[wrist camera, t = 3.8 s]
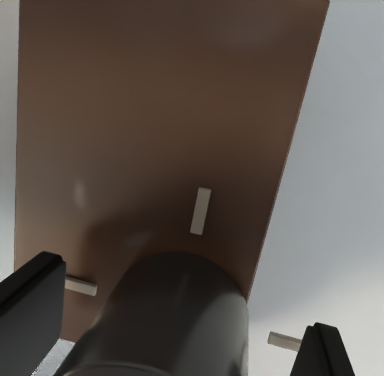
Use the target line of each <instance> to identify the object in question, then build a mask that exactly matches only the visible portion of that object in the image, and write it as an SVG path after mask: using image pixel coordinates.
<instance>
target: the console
mask: <svg viewBox="0 0 384 376" xmlns="http://www.w3.org/2000/svg"><path fill="white" fill-rule="evenodd" d="M329 3H330V1H329V0H20V2H19V49H18V97H17V144H16V192H15V239H14V272H15V271H16V270H18V269H19V268H20V267H22V266H23V265H24V264H26V263H27V262H28V261H30V260H31V259H32V258H33V257H35V256H36V255H37V254H39V253H40V252H42V251H47V252H51V253H54V254H58V255H61V256H62V259H63V261H65V262H66V278H65V291H64V305H63V318H62V330H61V334H60V337H59V338H61V339H64V340H68V341H71V342H75V343H76V342H77V341H78V339H79V338H80V336H81V335H82V334H83V332H84V331H85V329H86V328H87V326H88V325H89V324H90V322H91V321H92V319H93V318H94V317H95V315H96V314H97V312H98V311H99V309H100V308H101V307H102V305H103V304H104V302H105V301H106V299H107V298H108V297H109V295H110V294H111V292H112V291H113V289H114V288H115V287H116V285H117V284H118V282H119V281H120V279H121V278H122V277H123V275H124V274H125V273H126V272H127V270H128V269H129V268H131V267H132V266H133V265H134V264H135V263H137V262H138V261H140V260H142V259H144V258H146V257H148V256H152V255H155V254H159V253H165V252H182V253H188V254H193V255H196V256H199V257H202V258H204V259H206V260H208V261H210V262H212V263H214V264H215V265H217V266H218V267H220V268H221V269H222V270H224V271H225V272H226V273H227V274H228V275H229V276H230V277H231V278H232V279H233V280H234V282H235V283H236V284H237V285H238V287H239V289H240V290H241V292H242V294H243V296H244V298H245V301H246V304H247V302H248V299H249V295H250V291H251V288H252V284H253V281H254V277H255V273H256V270H257V266H258V262H259V259H260V255H261V251H262V248H263V244H264V240H265V237H266V233H267V230H268V226H269V222H270V219H271V215H272V211H273V208H274V204H275V200H276V197H277V193H278V189H279V186H280V182H281V178H282V175H283V171H284V168H285V164H286V160H287V157H288V153H289V149H290V146H291V142H292V138H293V135H294V131H295V127H296V124H297V120H298V117H299V113H300V109H301V106H302V102H303V98H304V95H305V91H306V87H307V84H308V80H309V76H310V73H311V69H312V65H313V62H314V58H315V55H316V51H317V47H318V44H319V40H320V36H321V33H322V29H323V25H324V22H325V18H326V14H327V11H328V7H329ZM301 342H302V340H300V339H297V338H293V337H289V336H286V335H282V334H278V333H274V332H270V334H269V337H268V344H271V345H275V346H279V347H282V348H286V349H289V350H293V351H297V352H298V351H299V348H300V345H301Z"/></svg>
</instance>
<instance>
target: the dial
mask: <svg viewBox="0 0 384 376" xmlns="http://www.w3.org/2000/svg"><path fill="white" fill-rule="evenodd" d="M248 338H249V315H248V308H247V304H246V301H245V298H244V296H243V294H242V292H241V290H240V289H239V287H238V285H237V284H236V283H235V282H234V280H233V279H232V278H231V277H230V276H229V275H228V274H227V273H226V272H225V271H224V270H222V269H221V268H220V267H218V266H217V265H215V264H214V263H212V262H210V261H208V260H206V259H204V258H202V257H199V256H196V255H193V254H188V253H182V252H165V253H159V254H155V255H152V256H148V257H146V258H144V259H142V260H140V261H138V262H137V263H135V264H134V265H133V266H132V267H131V268H129V269H128V270H127V272H126V273H125V274H124V275H123V277H122V278H121V279H120V281H119V282H118V284H117V285H116V287H115V288H114V289H113V291H112V292H111V294H110V295H109V297H108V298H107V299H106V301H105V302H104V304H103V305H102V307H101V308H100V309H99V311H98V312H97V314H96V315H95V317H94V318H93V319H92V321H91V322H90V324H89V325H88V326H87V328H86V329H85V331H84V332H83V334H82V335H81V336H80V338H79V339H78V341H77V342H76V344H75V345H74V346H73V348H72V349H71V351H70V352H69V354H68V355H67V356H66V358H65V359H64V361H63V362H62V363H61V365H60V366H59V368H58V369H57V371H56V372H55V373H54V375H53V376H248Z"/></svg>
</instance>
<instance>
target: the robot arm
mask: <svg viewBox="0 0 384 376" xmlns="http://www.w3.org/2000/svg"><path fill="white" fill-rule="evenodd" d="M65 278H66V262H65V261H63V259H62V256H61V255H58V254H54V253H51V252H47V251H42V252H40V253H39V254H37V255H36V256H35V257H33V258H32V259H31V260H30V261H28V262H27V263H26V264H24V265H23V266H22V267H20V268H19V269H18V270H16V271H15V272H14V273H12V274H11V275H10V276H8V277H7V278H6V279H4V280H3V281H2V282H0V376H30V375H31V374H32V373H33V372H34V370H35V369H36V368H37V367H38V365H39V364H40V363H41V361H42V360H43V359H44V358H45V356H46V355H47V354H48V352H49V351H50V350H51V349H52V347H53V346H54V345H55V344H56V342H57V341H58V339H59V337H60V334H61V330H62V318H63V305H64V291H65ZM290 376H355V374H354V372H353V369H352V366H351V363H350V361H349V358H348V355H347V352H346V350H345V347H344V344H343V342H342V339H341V336H340V333H339V331H338V329H337V328H336V327H333V326H329V325H325V324H321V323H318V322H317V323H315V324H314V326H308V327H307V328H306V331H305V334H304V337H303V339H302V342H301V345H300V348H299V351H298V354H297V357H296V360H295V362H294V365H293V368H292V371H291V374H290Z"/></svg>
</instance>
